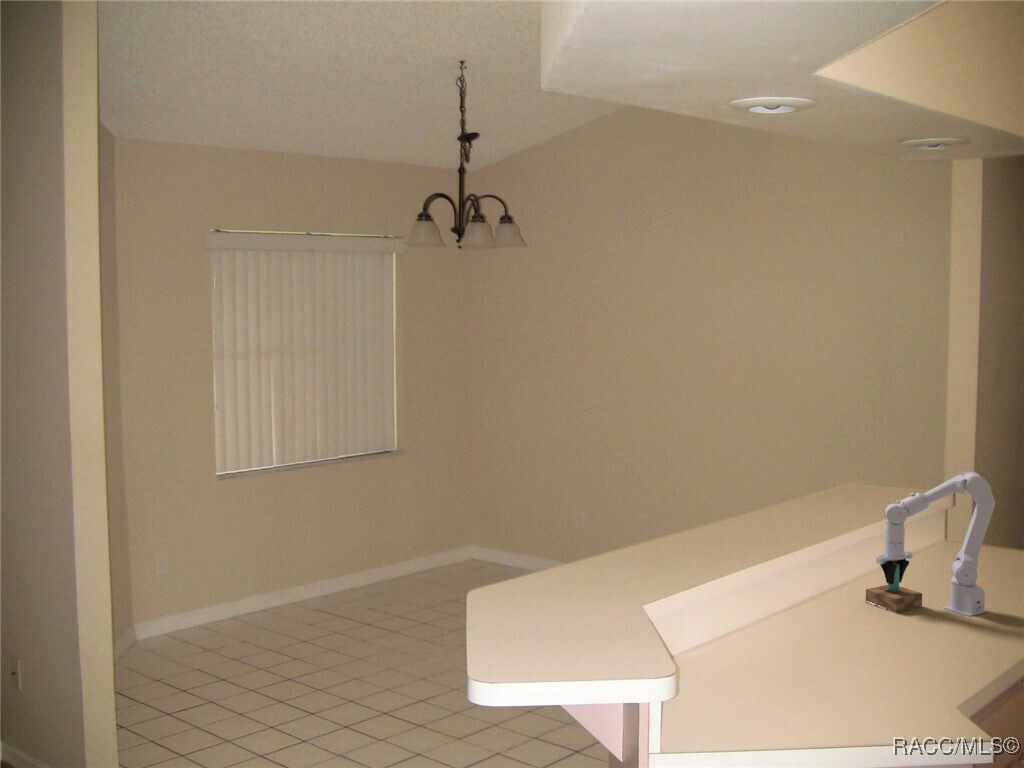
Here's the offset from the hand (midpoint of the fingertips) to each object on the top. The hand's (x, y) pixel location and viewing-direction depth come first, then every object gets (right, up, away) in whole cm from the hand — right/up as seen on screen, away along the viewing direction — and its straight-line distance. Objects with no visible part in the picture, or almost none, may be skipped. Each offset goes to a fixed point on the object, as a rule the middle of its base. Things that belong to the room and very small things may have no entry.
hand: (893, 582), depth 304 cm
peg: (0, -3, 0) cm, 3 cm away
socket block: (0, -7, +1) cm, 7 cm away
